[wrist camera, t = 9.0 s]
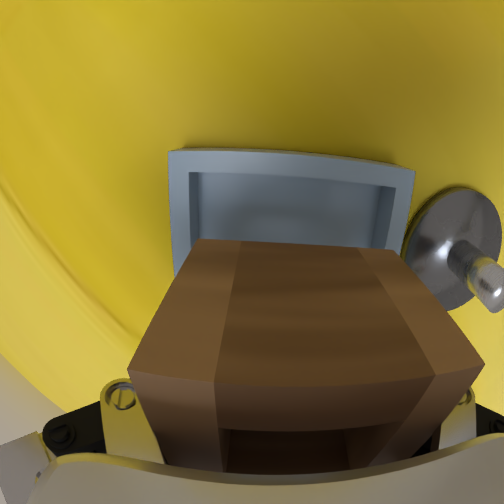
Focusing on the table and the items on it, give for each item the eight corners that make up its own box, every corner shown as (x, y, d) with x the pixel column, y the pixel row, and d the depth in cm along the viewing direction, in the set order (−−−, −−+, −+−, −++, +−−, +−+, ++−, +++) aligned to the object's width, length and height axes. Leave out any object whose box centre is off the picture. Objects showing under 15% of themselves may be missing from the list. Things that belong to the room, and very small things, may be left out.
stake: (415, 176, 14) (476, 203, 9) (504, 198, 14) (558, 226, 9) (385, 305, 18) (417, 365, 13) (472, 303, 18) (509, 347, 12)
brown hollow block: (197, 238, 10) (126, 369, 4) (393, 249, 9) (485, 364, 4) (209, 395, 13) (189, 499, 8) (343, 398, 13) (362, 498, 7)
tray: (183, 147, 15) (168, 151, 12) (395, 164, 14) (415, 171, 12) (191, 325, 20) (183, 349, 17) (357, 333, 19) (366, 356, 17)
